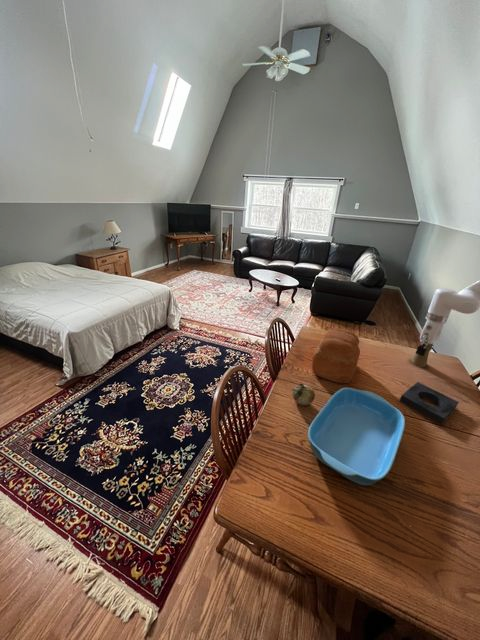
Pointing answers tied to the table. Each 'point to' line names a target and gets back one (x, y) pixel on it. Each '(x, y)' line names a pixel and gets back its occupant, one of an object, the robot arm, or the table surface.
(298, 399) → the onion
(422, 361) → the cork
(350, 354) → the bread
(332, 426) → the casserole dish
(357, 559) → the table surface
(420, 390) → the socket pad
